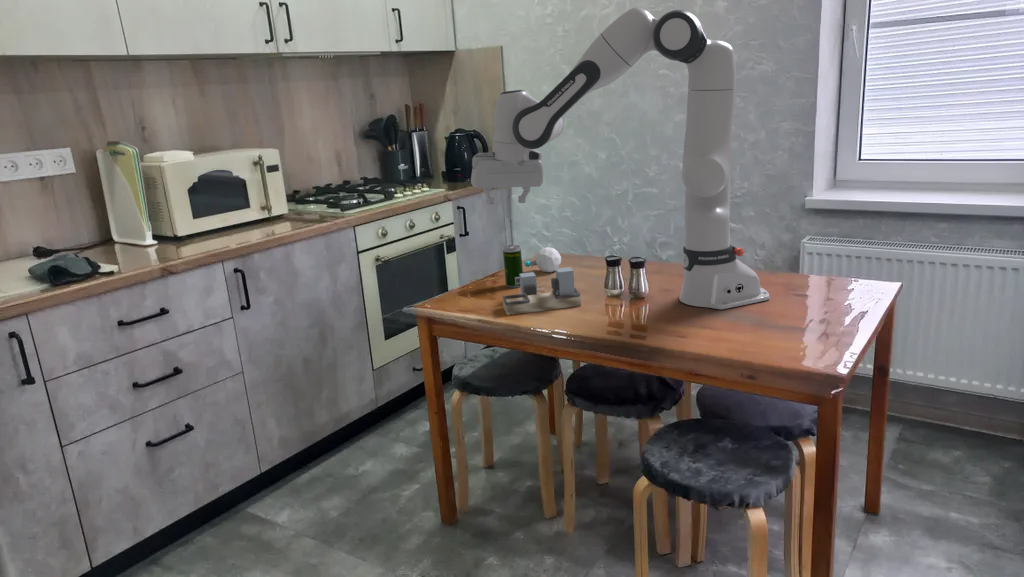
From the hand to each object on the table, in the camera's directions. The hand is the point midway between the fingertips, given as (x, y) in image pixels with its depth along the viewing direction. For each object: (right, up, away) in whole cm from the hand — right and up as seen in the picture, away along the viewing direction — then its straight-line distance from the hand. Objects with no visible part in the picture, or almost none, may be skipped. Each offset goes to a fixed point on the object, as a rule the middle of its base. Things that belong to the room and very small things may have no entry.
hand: (506, 203), depth 192 cm
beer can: (+3, -23, +19) cm, 29 cm away
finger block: (+7, -26, +5) cm, 27 cm away
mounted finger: (+16, -25, -3) cm, 30 cm away
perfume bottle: (+12, -18, +31) cm, 38 cm away
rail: (+10, -28, -3) cm, 30 cm away
